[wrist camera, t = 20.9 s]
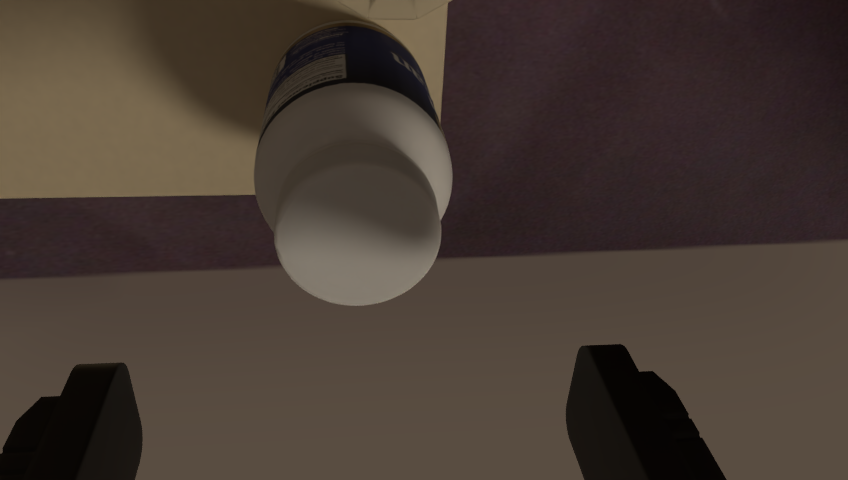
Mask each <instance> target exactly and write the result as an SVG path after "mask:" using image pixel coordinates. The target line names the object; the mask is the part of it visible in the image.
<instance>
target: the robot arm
mask: <svg viewBox="0 0 848 480" xmlns="http://www.w3.org/2000/svg"><path fill="white" fill-rule="evenodd" d="M566 424H567V430H568V435H569V439H570V441H571V444H572V447H573V450H574V453H575V455H576V458H577V461H578V463H579V466H580V469H581V471H582V474H583V477H584V480H726V478H725V476H724V475H723V473H722V471H721V470H720V468H719V466H718V464H717V463H716V461H715V459H714V457H713V456H712V454H711V452H710V450H709V449H708V447H707V445H706V444H705V442H704V440H703V439H702V438H700V436H699V431H698V430H697V428H696V426H695V424H694V423H693V421H692V419H689V417H688V412H687V411H686V409H685V407H684V405H683V404H682V402H681V400H680V399H679V397H678V395H677V393H676V392H675V390H673V389H672V388H671V387H670V386H669V385H668V384H667V383H666V382H664V381H663V380H662V379H661V378H660V377H659V376H657V375H656V374H655V373H654V372H653V371H648V372H647V371H646V372H639V371H638V369H637V367H636V365H635V363H634V362H633V360H632V358H631V356H630V354H629V352H628V351H627V349H626V348H625V346H623V345H621V344H615V345H590V346H581V348H580V349H579V351H578V354H577V358H576V363H575V368H574V372H573V377H572V381H571V386H570V391H569V396H568V400H567V406H566ZM141 452H142V426H141V421H140V417H139V413H138V409H137V404H136V401H135V396H134V392H133V388H132V384H131V379H130V375H129V371H128V369H127V366H126V365H125V364H124V363H101V364H79V365H76V366H75V367H74V368H73V370H72V371H71V373H70V376H69V378H68V380H67V383H66V384H65V387H64V389H63V391H62V393H61V395H60V396H54V397H41V398H40V399H39V400H38V401H37V402H36V403H35V404H34V405H33V406H32V407H31V408H30V409H28V411H26V412H25V413H24V414H23V415H22V416H21V417H20V418H19V419H18V420H17V421H16V423H15V425H14V427H13V429H12V431H11V433H10V435H9V437H8V439H7V441H6V443H5V445H4V447H3V453H2V454H0V480H135V477H136V473H137V470H138V466H139V463H140V457H141Z"/></svg>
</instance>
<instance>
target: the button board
mask: <svg viewBox="0 0 848 480" xmlns="http://www.w3.org/2000/svg"><path fill="white" fill-rule="evenodd" d="M450 1H452V0H0V198H63V197H130V196H198V195H256V194H255V187H254V167H255V157H256V151H257V147H258V140H259V136H260V132H261V127H262V122H263V117H264V113H265V107H266V102H267V98H268V94H269V89H270V84H271V80H272V76H273V74H274V71H275V68H276V66H277V64H278V62H279V60H280V58H281V56H282V55H283V53H284V52H285V50H286V49H287V48H288V47H289V45H290V44H291V43H292V42H293V41H295V40H296V39H297V38H298V37H299V36H301V35H302V34H303V33H305V32H307V31H309V30H310V29H312V28H314V27H317V26H319V25H322V24H325V23H329V22H333V21H340V20H354V21H361V22H366V23H370V24H373V25H375V26H378V27H380V28H382V29H384V30H386V31H388V32H390V33H391V34H393V35H394V36H395V37H396V38H398V39H399V40H400V41H401V42H402V43H403V44H404V45H405V46H406V47H407V48H408V49H409V51H410V52H411V53H412V55H413V56H414V58H415V59H416V61H417V63H418V65H419V66H420V68H421V71H422V73H423V76H424V78H425V81H426V84H427V87H428V90H429V93H430V96H431V98H432V101H433V104H434V108H435V110H436V113H437V115H438V119H439V122H440V120H441V104H442V88H443V72H444V56H445V40H446V24H447V9H448V2H450Z"/></svg>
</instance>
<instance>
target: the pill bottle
mask: <svg viewBox="0 0 848 480" xmlns="http://www.w3.org/2000/svg"><path fill="white" fill-rule="evenodd" d="M254 187H255V194H256V198H257V202H258V205H259V207H260V210H261V212H262V214H263V216H264V218H265V220H266V222H267V223H268V225H269V226H270V228H271V229H272V231H273V232H274V242H275V249H276V252H277V255H278V258H279V260H280V262H281V264H282V266H283V268H284V269H285V271H286V272H287V274H288V275H289V276H290V277H291V279H292V280H293V281H294V282H295V283H296V284H297V285H298V286H300V287H301V288H302V289H304V290H305V291H306V292H308V293H310V294H311V295H313V296H315V297H317V298H320V299H323V300H325V301H328V302H332V303H336V304H342V305H352V306H361V305H370V304H377V303H380V302H383V301H387V300H390V299H392V298H394V297H396V296H399V295H401V294H403V293H404V292H406V291H407V290H409V289H410V288H412V287H413V286H414V285H415V284H417V283H418V282H419V281H420V280H421V279H422V278H423V277H424V276H425V275H426V273H427V272H428V271H429V269H430V267H431V266H432V265H433V263H434V261H435V259H436V257H437V254H438V250H439V247H440V242H441V222H440V220H441V219H442V217H443V215H444V213H445V211H446V208H447V206H448V203H449V199H450V195H451V189H452V165H451V159H450V155H449V150H448V146H447V142H446V140H445V137H444V134H443V131H442V128H441V125H440V122H439V119H438V115H437V113H436V110H435V108H434V104H433V101H432V98H431V96H430V93H429V90H428V87H427V84H426V81H425V78H424V76H423V73H422V71H421V68H420V66H419V65H418V63H417V61H416V59H415V58H414V56H413V55H412V53H411V52H410V51H409V49H408V48H407V47H406V46H405V45H404V44H403V43H402V42H401V41H400V40H399V39H398V38H396V37H395V36H394V35H393V34H391V33H390V32H388V31H386V30H384V29H382V28H380V27H378V26H375V25H373V24H370V23H366V22H361V21H354V20H340V21H333V22H329V23H325V24H322V25H319V26H317V27H314V28H312V29H310V30H309V31H307V32H305V33H303V34H302V35H301V36H299V37H298V38H297V39H296V40H295V41H293V42H292V43H291V44H290V45H289V47H288V48H287V49H286V50H285V52H284V53H283V55H282V56H281V58H280V60H279V62H278V64H277V66H276V68H275V71H274V74H273V76H272V80H271V84H270V89H269V94H268V98H267V102H266V107H265V113H264V117H263V122H262V127H261V132H260V136H259V140H258V147H257V151H256V157H255V167H254Z"/></svg>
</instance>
